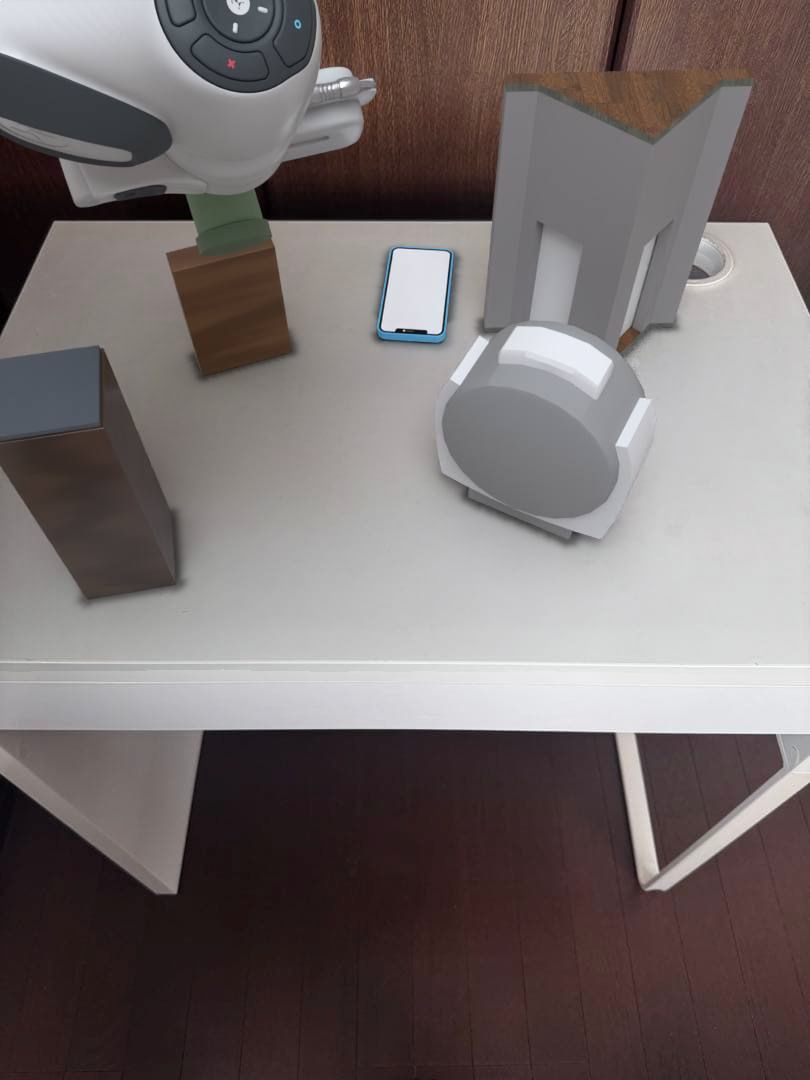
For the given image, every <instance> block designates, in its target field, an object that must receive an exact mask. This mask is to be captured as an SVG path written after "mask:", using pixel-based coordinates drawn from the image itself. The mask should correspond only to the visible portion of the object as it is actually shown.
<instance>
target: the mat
mask: <svg viewBox="0 0 810 1080" xmlns="http://www.w3.org/2000/svg"><path fill="white" fill-rule="evenodd" d="M100 348H101V347H100V345H98V344H97V345H90V346H83V347H76V348H68V349H61V350H60V349H59V350H55V351H54V350H53V351H48V352H47V351H45V352H40V353H33V354H32V353H31V354H25V355H17V356H11V357H4V358H0V441H5V440H12V439H18V438H25V437H32V436H38V435H45V434H52V433H58V432H65V431H72V430H79V429H85V428H92V427H99V426H101V349H100Z"/></svg>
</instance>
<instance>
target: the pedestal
mask: <svg viewBox="0 0 810 1080" xmlns="http://www.w3.org/2000/svg"><path fill="white" fill-rule="evenodd" d="M100 349H101V426H99V427H92V428H85V429H79V430H72V431H65V432H58V433H52V434H45V435H38V436H32V437H25V438H18V439H12V440H5V441H0V468H1V469H2V471H3V473H4V474H5V476H6V477H7V479H8V480H9V482H10V483H11V485H12V486H13V488H14V489H15V491H16V492H17V494H18V495H19V497H20V499H21V500H22V501H23V504H24V505H25V506H26V508H27V509H28V511H29V513H30V514H31V516H32V517H33V519H34V521H35V522H36V523H37V525H38V526H39V528H40V529H41V531H42V533H43V534H44V535H45V537H46V539H47V540H48V542H49V543H50V545H51V546H52V548H53V550H54V551H55V553H56V554H57V556H58V557H59V559H60V560H61V562H62V564H63V565H64V567H65V568H66V569H67V571H68V572H69V574H70V575H71V577H72V578H73V580H74V582H75V583H76V585H77V586H78V588H79V589H80V591H81V592H82V594H83V596H84V597H85V599H86V600H91V599H92V600H93V599H98V598H105V597H110V596H116V595H123V594H127V593H133V592H134V593H135V592H139V591H145V590H151V589H158V588H163V587H169V586H175V585H177V581H176V578H177V577H176V566H175V565H176V562H175V561H176V560H175V546H174V545H175V543H174V529H173V514H172V511H171V509H170V506H169V503H168V502H167V499H166V496H165V494H164V491H163V489H162V487H161V485H160V482H159V479H158V477H157V475H156V472H155V470H154V467H153V465H152V462H151V460H150V457H149V456H148V455H149V454H148V453H147V450H146V448H145V445H144V443H143V441H142V438H141V436H140V434H139V431H138V429H137V427H136V424H135V421H134V419H133V416H132V413H131V411H130V409H129V407H128V404H127V401H126V399H125V397H124V394H123V391H122V389H121V387H120V385H119V382H118V380H117V377H116V375H115V373H114V370H113V367H112V365H111V363H110V360H109V358H108V355H107V353H106V350H105V348H104V347H100Z"/></svg>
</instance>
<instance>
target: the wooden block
mask: <svg viewBox="0 0 810 1080" xmlns="http://www.w3.org/2000/svg"><path fill="white" fill-rule="evenodd" d="M165 255H166V259H167V263H168V266H169V270H170V274H171V276H172V281H173V284H174V287H175V290H176V294H177V297H178V300H179V304H180V307H181V311H182V314H183V318H184V321H185V324H186V327H187V328H186V329H187V330H188V331H187V332H188V335H189V338H190V342H191V345H192V349H193V352H194V355H195V358H196V361H197V364H198V368H199V370H200V373H201V376H202V377H205V376H209V375H212V374H216V373H220V372H223V371H227V370H232V369H235V368H238V367H241V366H245V365H250V364H253V363H256V362H260V361H263V360H267V359H270V358H274V357H278V356H281V355H285V354H288V353H292V351H293V349H292V343H291V337H290V331H289V325H288V319H287V318H288V317H287V313H286V306H285V299H284V293H283V288H282V282H281V281H282V280H281V274H280V270H279V264H278V257H277V251H276V246H275V243H274V241H273V239H272V238H271V239H269V240H268V241H266V242H264V243H261V244H259V245H256V246H254V247H251V248H248V249H244V250H241V251H237V252H233V253H229V254H224V255H218V256H210V257H203V256H201V255H200V253H199V250H198V246H197V244H196V245H192V246H187V247H184V248H179V249H175V250H172V251H167V252H166V253H165Z"/></svg>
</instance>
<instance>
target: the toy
mask: <svg viewBox="0 0 810 1080" xmlns="http://www.w3.org/2000/svg"><path fill="white" fill-rule="evenodd" d="M185 197H186V200H187V203H188V207H189V210H190V213H191V217H192V220H193V223H194V226H195V229H196V233H197V236H196V237H195V243H196V245H197V246H198V250H199V253H200V255H201V256H203V257H210V256H218V255H224V254H229V253H233V252H237V251H241V250H244V249H248V248H251V247H254V246H256V245H259V244H261V243H264V242H266V241H268V240H269V239H272V238H273V234H272V230H271V227H270V223H269V220H268V219H266V218H264V217H263V213H262V209H261V207H260V204H259V200H258V197H257V193H256V190H255V188H254V189H252V190H249V191H247V192H244V193H240V194H234V195H215V194H210V193H206V192H205V193H203V194H185Z"/></svg>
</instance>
